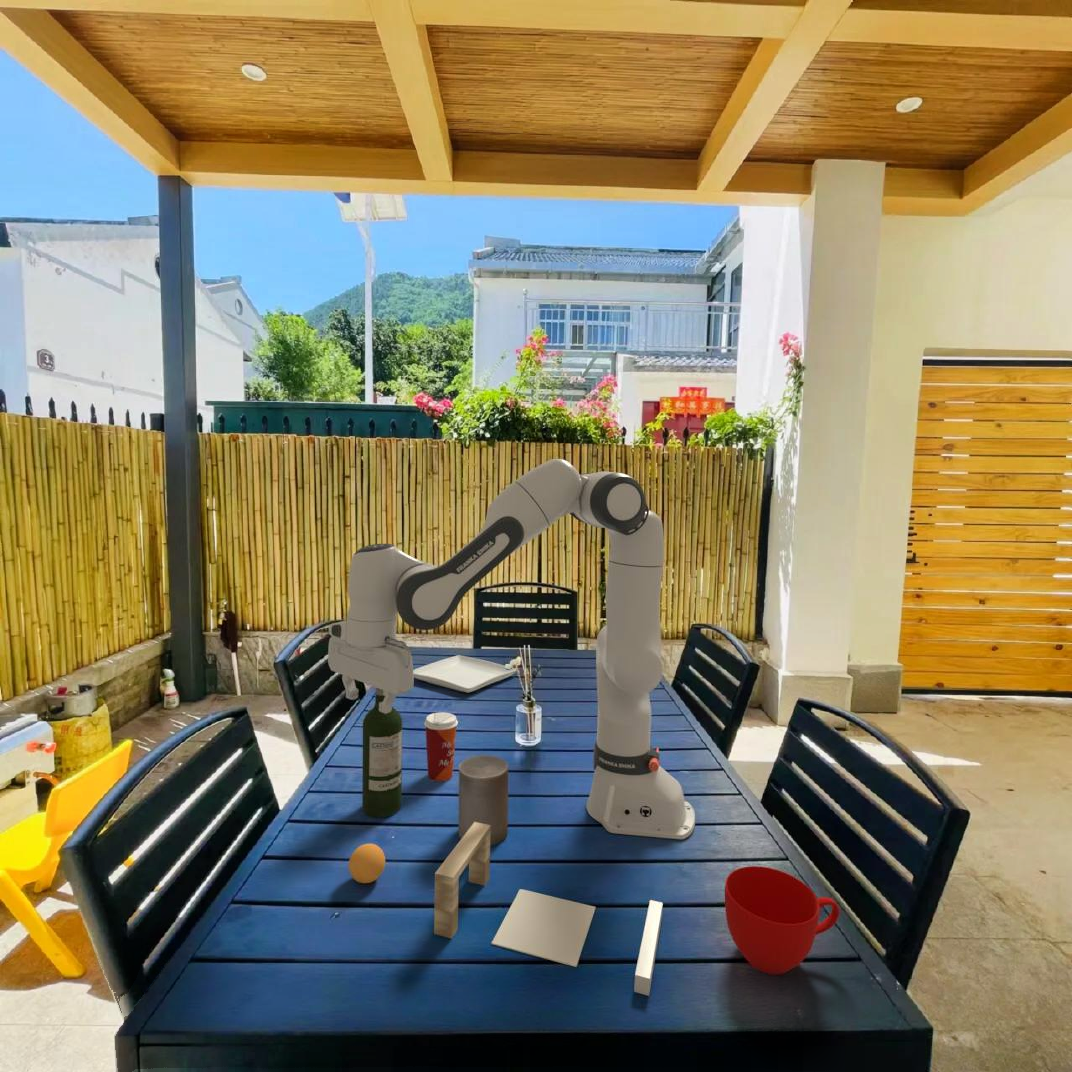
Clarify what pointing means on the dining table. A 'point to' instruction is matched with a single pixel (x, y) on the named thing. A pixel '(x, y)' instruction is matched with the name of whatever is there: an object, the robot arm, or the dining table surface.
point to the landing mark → (545, 927)
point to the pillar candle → (484, 795)
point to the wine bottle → (382, 761)
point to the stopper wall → (648, 948)
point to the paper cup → (440, 745)
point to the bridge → (447, 876)
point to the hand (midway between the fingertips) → (368, 705)
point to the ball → (367, 863)
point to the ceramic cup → (773, 917)
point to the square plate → (462, 673)
